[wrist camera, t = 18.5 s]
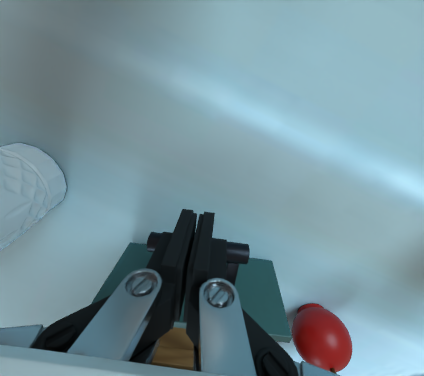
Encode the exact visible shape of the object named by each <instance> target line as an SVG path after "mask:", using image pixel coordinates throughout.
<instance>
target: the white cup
mask: <svg viewBox="0 0 424 376" xmlns="http://www.w3.org/2000/svg"><path fill="white" fill-rule="evenodd" d="M66 189H67V186H66V182H65V178H64V174H63V172H62V170H61V169H60V168H59V166H58V165H57V164H56V162H55V161H54V160H53V158H51V157H50V156H48V155H47V154H46V153H44V152H43V151H41V150H40V149H39V148H37V147H34V146H30V145H26V144H23V143H14V144H9V145H4V146H0V251H1V250H2V249H4V248H5V247H6V246H8V245H9V244H10V243H12V242H13V241H14V240H15V239H17V238H18V237H19V236H21V235H22V234H23V233H25V232H26V231H27V230H28V229H29V228H30V227H32V226H33V225H34V224H35V223H37V222H38V221H39V220H40V219H41V218H42V217H43V216H44V215H45V214H46V213H47V212H49V211H50V210H51V209H53V208H54V207H55V206H56V205H58V204H59V203H60V202H61V201H62V200H63V199H64V196H65V193H66Z"/></svg>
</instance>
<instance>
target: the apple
mask: <svg viewBox="0 0 424 376" xmlns="http://www.w3.org/2000/svg"><path fill="white" fill-rule="evenodd" d="M292 338H293V342H294V345H295V347H296V349H297V351H298V353H299V354H300V356H301V357H302V358H303V360H304V361H305V362H307V363H309V364H312V365H314V366H317V367H319V368H322V369H325V370H327V371H330V372H332V373H335V374H336V372H338V371H340V370H342V369H343V368H345V367H346V366H347V364H348V363H349V361H350V359H351V355H352V341H351V338H350V335H349V332H348V330H347V328H346V327H345V325H344V324H343V322H342V321H341V320H340V319H339V318H338V317H337V316H336V315H334V314H333V313H331V312H330V311H328V310H326V309H324V308H323V307H322V306H321V305H319V304H314V303H311V304H306V305H303V306H302V307H300V308H299V309H298V312H297V316H296V317H295V319H294V321H293V325H292Z"/></svg>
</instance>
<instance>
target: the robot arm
mask: <svg viewBox="0 0 424 376" xmlns="http://www.w3.org/2000/svg"><path fill="white" fill-rule="evenodd" d="M214 214H215V213H210V212H204V214H200V216H199V220H198V224H197V229H196V219H197V214H196V213H193V210H186V209H183V210H182V212H181V214H180V217H179V219H178V222H177V224H176V227H175V229H174V232H173V233H169V232H163V233H162V235H161V237H160V239H159V241H158V243H157V245H156V247H155V250H154V252H153V254H152V256H151V258H150V260H149V262H148V264H147V266H146V268H145V269H138V270H135V271H133V272H131V273H130V274H128V275H127V276H126V277H125V278H124V279H123V280H122V282H121V283H120V284H119V286H118V287H117V288H116V289H115V291H114V292H113V293H112V295H110V296H108V297H105V298H103V299H101V300H99V301H97V302H95V303H93V304H91V305H89V306H87V307H85V308H83V309H81V310H79V311H77V312H75V313H73V314H71V315H69V316H66V317H64V318H62V319H60V320H58V321H56V322H55V323H53V324H51V325H50V326H49V327H46V328H43V325H31V326H20V327H9V328H0V376H340V375H337V374H335V373H332V372H330V371H327V370H325V369H322V368H319V367H317V366H314V365H312V364H309V363H307V362H304V361H302V362H301V364H300V363H298V362H295V361H293V360H292V358H291V357H290V356H289V355H288V353H287V352H286V351H285V350H284V349H283V348H282V347H281V346H280V345H279V344H278V343H277V342H276V341H275V340H274V339H273V338H272V337H271V336H270V335H269V334H268V333H267V332H266V331H265V330H264V329H263V328H262V327H261V326H260V325H259V324H258V323H257V322H256V321H255V320H254V319H253V318H251V317H250V316H249V315H248V314H247V313H246V312H245V311H244V310H243V309H242V308H241V304H240V300H239V295H238V292H237V290H236V288H235V287H234V285H233V284H232V283H230V282H229V281H227V280H226V270H227V240H223V239H215V238H212V232H213V223H214ZM195 230H196V233H195ZM184 297H185V304H184V316H183V322H187V324H186V334H187V335H188V337H189V338H190V340H191V341H192V343H193V371H191V370H184V369H177V368H170V367H163V366H156V365H151V363H152V360H153V358H154V356H155V353H156V351H157V349H158V346H159V344H160V340H161V336H163V335H164V334H166V333H167V332H169V331H170V329H172V330H173V326H174V322H175V321H179V320H180V316H181V311H182V307H183V302H184Z"/></svg>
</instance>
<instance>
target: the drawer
mask: <svg viewBox="0 0 424 376" xmlns="http://www.w3.org/2000/svg"><path fill="white" fill-rule="evenodd" d="M161 235H162V233H156V232H151V233H150V235H149V238H148V241H147V245H146V244H138V243H130V244H129V245H128V247H127V248H126V250H125V252H124V253H123V255H122V256H121V258H120V259H119V261H118V262H117V264H116V266H115V267H114V269H113V270H112V272H111V273H110V275H109V277H108V278H107V280H106V281H105V283H104V284H103V286H102V287H101V289H100V291H99V292H98V294H97V295H96V297H95V298H94V300H93V302H92V303H91V304H93V303H95V302H97V301H99V300H101V299H103V298H105V297H108V296H110V295H112V293H113V292H114V291H115V289H116V288H117V287H118V286H119V284H120V283H121V282H122V280H123V279H124V278H125V277H126V276H127V275H128V274H130V273H131V272H133V271H135V270H138V269H145V268H146V266H147V264H148V262H149V260H150V258H151V256H152V254H153V252H154V250H155V247H156V245H157V243H158V241H159V239H160V237H161ZM226 280H227V281H229V282H230V283H232V284H233V285H234V287H235V288H236V290H237V292H238V295H239V300H240V304H241V308H242V309H243V310H244V311H245V312H246V313H247V314H248V315H249V316H250V317H251V318H253V319H254V320H255V321H256V322H257V323H258V324H259V325H260V326H261V327H262V328H263V329H264V330H265V331H266V332H267V333H268V334H269V335H270V336H271V337H272V338H273V339H274V340H275V341H280V342H287V343H290V341H291V338H292V336H291V332H290V328H289V325H288V321H287V317H286V313H285V309H284V305H283V301H282V298H281V294H280V290H279V286H278V282H277V278H276V274H275V271H274V267H273V263H272V261H269V260H261V259H254V258H249V245H248V244H242V243H234V242H227V270H226ZM184 304H185V297H184V302H183V307H182V311H181V316H180V320H179V321H175V322H174V326H173V330H172V329H170V331H169V332H167V333H166V334H164V335H163V336H161V340H160V344H159V346H158V349H157V351H156V353H155V356H154V358H153V360H152V363H151V365H157V366H164V367H172V368H179V369H186V370H193V343H192V341H191V340H190V338H189V337H188V335H187V334H186V324H187V322H183V316H184Z"/></svg>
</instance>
